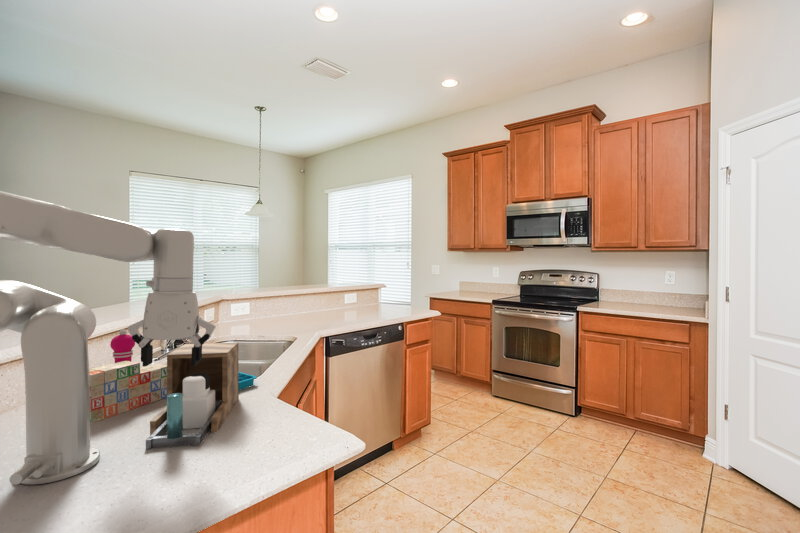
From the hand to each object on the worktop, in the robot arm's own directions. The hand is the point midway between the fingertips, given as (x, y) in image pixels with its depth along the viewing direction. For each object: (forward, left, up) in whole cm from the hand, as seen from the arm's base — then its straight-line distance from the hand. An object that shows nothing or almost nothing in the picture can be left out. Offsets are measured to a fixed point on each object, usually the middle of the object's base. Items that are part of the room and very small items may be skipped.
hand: (171, 364), depth 87 cm
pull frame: (+8, 0, -18) cm, 20 cm away
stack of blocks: (+27, +21, -18) cm, 39 cm away
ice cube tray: (+44, 0, -18) cm, 47 cm away
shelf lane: (+17, 0, -18) cm, 25 cm away
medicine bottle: (+12, -1, -18) cm, 22 cm away
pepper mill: (+36, +26, -18) cm, 48 cm away
